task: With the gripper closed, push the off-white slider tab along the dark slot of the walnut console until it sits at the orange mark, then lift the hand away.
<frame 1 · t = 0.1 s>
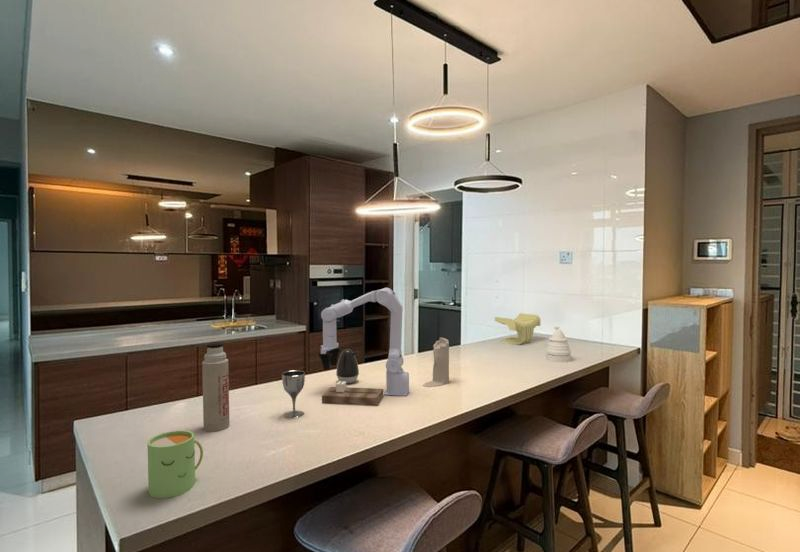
hand: (330, 367, 184), 10 cm above the countertop, tool pointing down, fingers open, 7 cm apart
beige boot: (435, 384, 194), on the countertop
silver metal goblet: (294, 414, 156), on the countertop
pump dispenser: (347, 382, 197), on the countertop
fader console: (353, 399, 172), on the countertop
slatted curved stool: (517, 342, 291), on the countertop
mug: (178, 485, 107), on the countertop
fader tab: (341, 386, 172), point 5 cm above the countertop, slide at 5.0 cm
honey pot: (558, 360, 239), on the countertop
thermos bottle: (216, 427, 144), on the countertop
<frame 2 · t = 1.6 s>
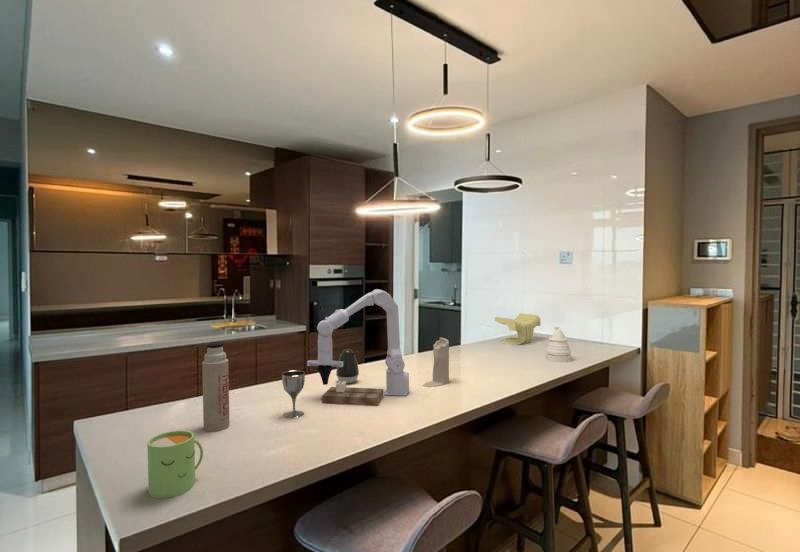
hand: (325, 384, 173), 6 cm above the countertop, tool pointing down, fingers closed
nothing on the countertop moved.
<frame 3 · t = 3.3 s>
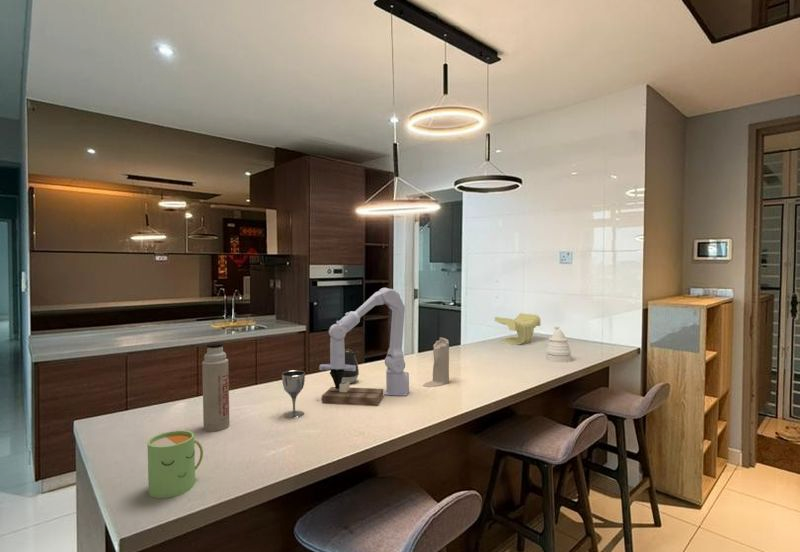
hand: (337, 388, 173), 4 cm above the countertop, tool pointing down, fingers closed
fader tab: (344, 386, 172), point 5 cm above the countertop, slide at 3.6 cm, touching gripper
everything else where it was.
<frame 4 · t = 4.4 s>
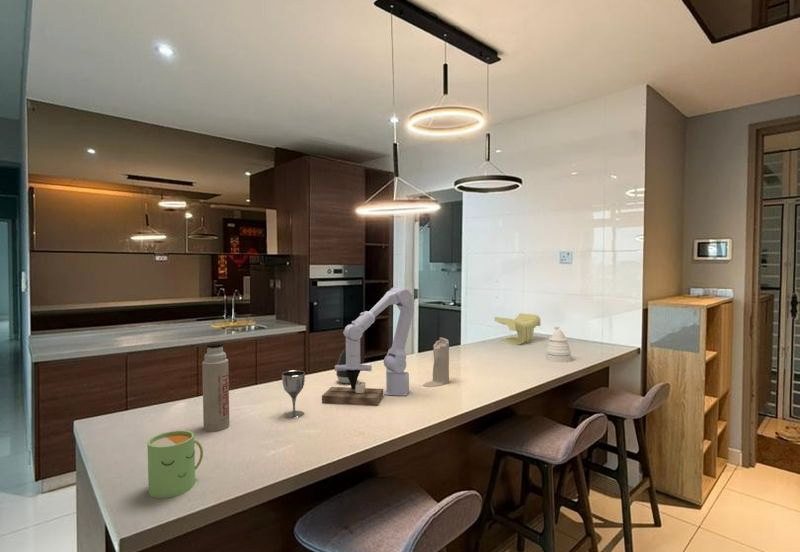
hand: (353, 388, 172), 4 cm above the countertop, tool pointing down, fingers closed
fader tab: (360, 387, 171), point 5 cm above the countertop, slide at -3.0 cm, touching gripper
everything else where it was.
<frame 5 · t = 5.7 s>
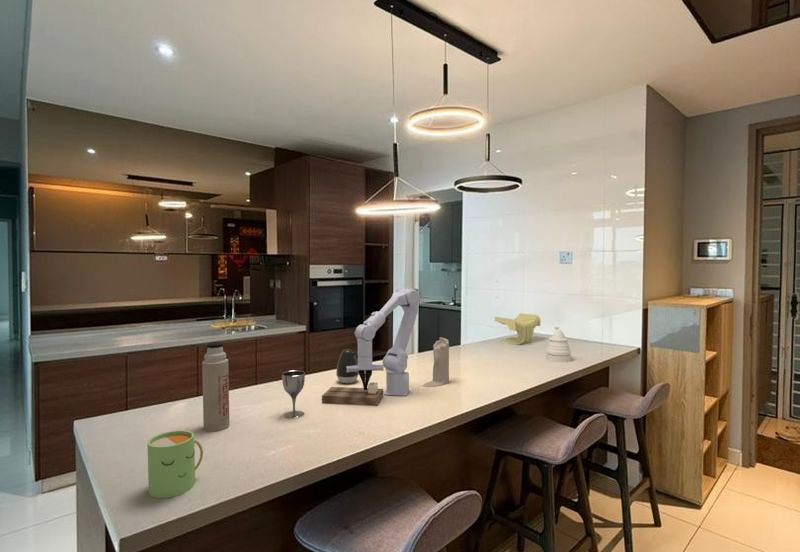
hand: (365, 389, 171), 4 cm above the countertop, tool pointing down, fingers closed
fader tab: (372, 387, 170), point 5 cm above the countertop, slide at -8.0 cm, touching gripper
everything else where it was.
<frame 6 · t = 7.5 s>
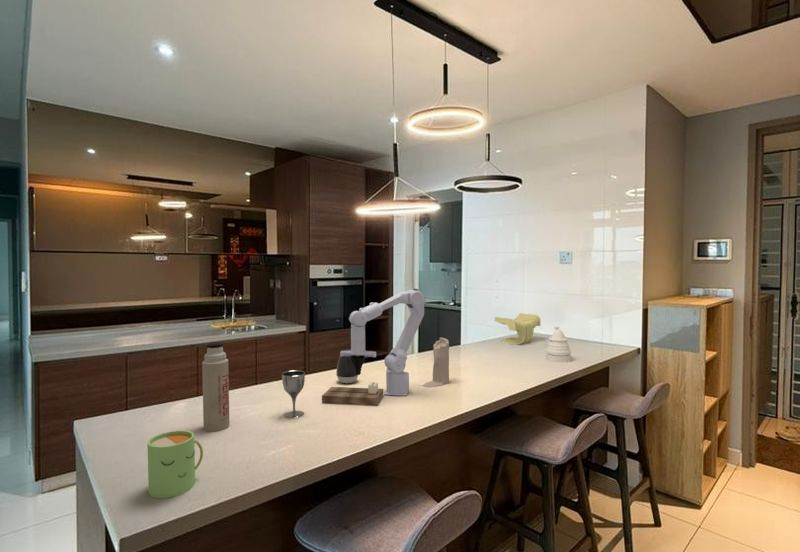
hand: (358, 374, 175), 9 cm above the countertop, tool pointing down, fingers closed
fader tab: (373, 387, 170), point 5 cm above the countertop, slide at -8.1 cm
everything else where it was.
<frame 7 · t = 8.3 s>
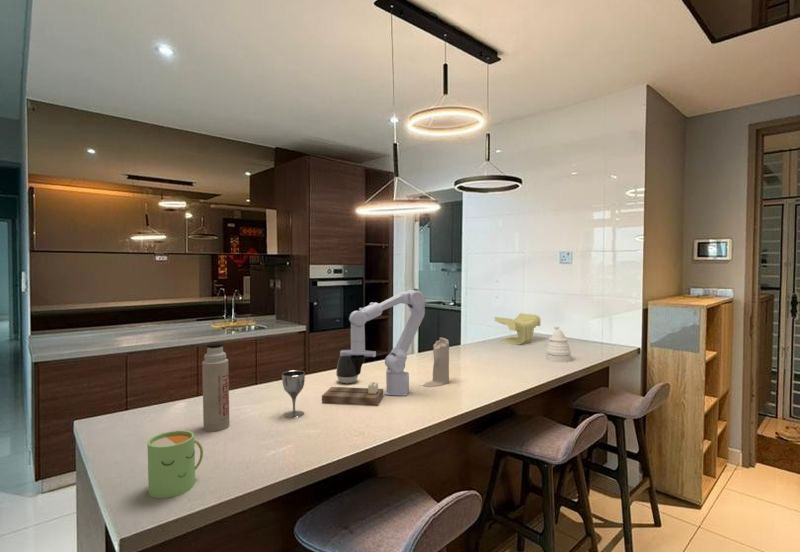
hand: (358, 373, 175), 9 cm above the countertop, tool pointing down, fingers closed
nothing on the countertop moved.
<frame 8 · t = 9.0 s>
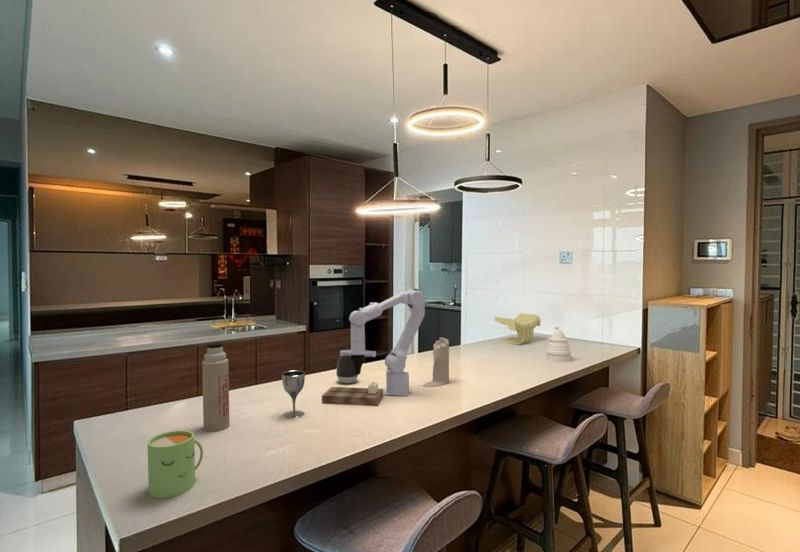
hand: (358, 373, 175), 9 cm above the countertop, tool pointing down, fingers closed
nothing on the countertop moved.
at the end: fader tab slide at -8.1 cm; the gripper is holding nothing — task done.
